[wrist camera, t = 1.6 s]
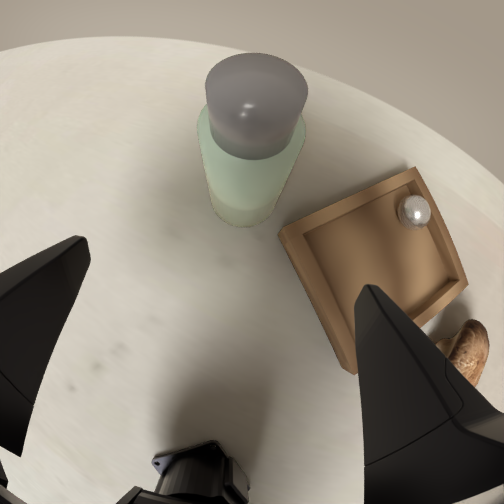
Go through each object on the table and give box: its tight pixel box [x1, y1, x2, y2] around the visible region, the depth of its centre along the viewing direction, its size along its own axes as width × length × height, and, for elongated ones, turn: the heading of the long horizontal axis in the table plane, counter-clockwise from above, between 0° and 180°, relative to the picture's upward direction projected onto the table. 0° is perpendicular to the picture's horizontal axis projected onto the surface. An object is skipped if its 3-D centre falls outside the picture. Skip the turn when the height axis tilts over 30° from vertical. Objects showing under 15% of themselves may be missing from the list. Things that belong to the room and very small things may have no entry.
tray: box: [278, 166, 469, 375], centre depth 21 cm, size 14×12×2 cm
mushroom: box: [435, 319, 489, 387], centre depth 19 cm, size 8×8×6 cm
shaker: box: [197, 53, 308, 227], centre depth 16 cm, size 5×5×13 cm
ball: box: [398, 195, 431, 230], centre depth 20 cm, size 3×3×3 cm
